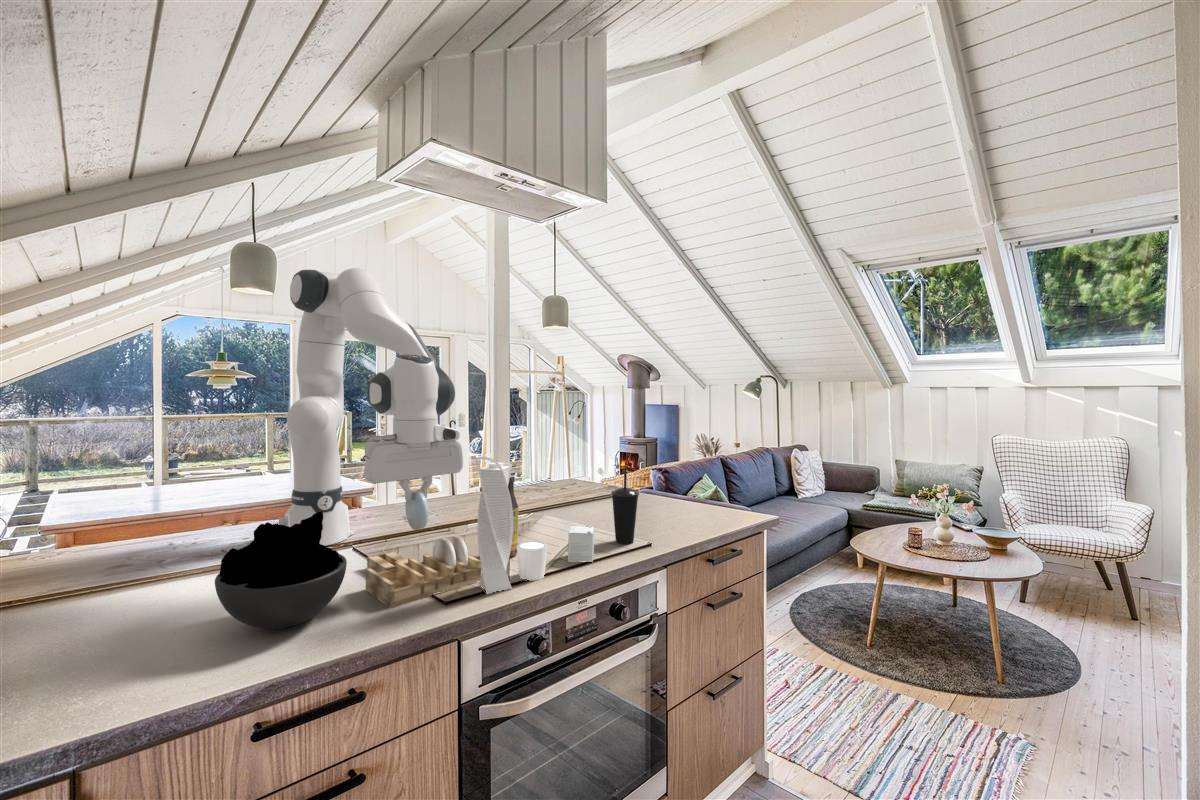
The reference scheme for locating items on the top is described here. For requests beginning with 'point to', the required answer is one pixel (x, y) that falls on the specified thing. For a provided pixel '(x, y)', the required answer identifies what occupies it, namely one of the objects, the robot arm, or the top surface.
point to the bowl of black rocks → (280, 575)
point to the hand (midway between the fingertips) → (416, 499)
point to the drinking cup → (624, 512)
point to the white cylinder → (532, 559)
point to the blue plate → (417, 511)
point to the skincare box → (580, 544)
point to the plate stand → (384, 561)
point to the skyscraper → (494, 525)
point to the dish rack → (425, 574)
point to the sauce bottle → (515, 517)
